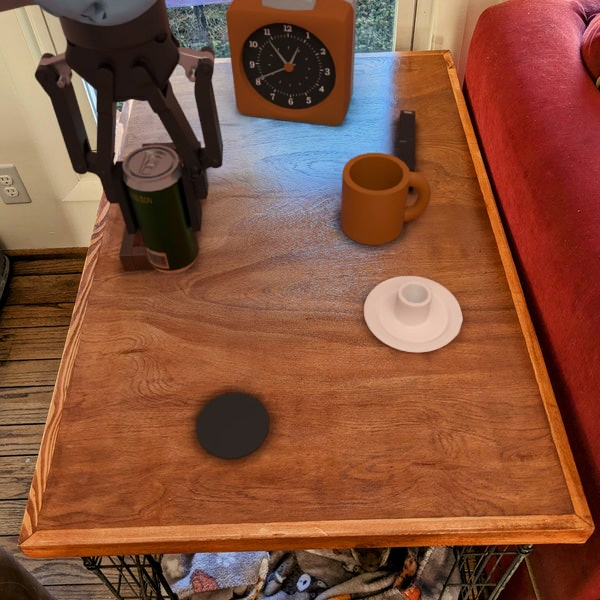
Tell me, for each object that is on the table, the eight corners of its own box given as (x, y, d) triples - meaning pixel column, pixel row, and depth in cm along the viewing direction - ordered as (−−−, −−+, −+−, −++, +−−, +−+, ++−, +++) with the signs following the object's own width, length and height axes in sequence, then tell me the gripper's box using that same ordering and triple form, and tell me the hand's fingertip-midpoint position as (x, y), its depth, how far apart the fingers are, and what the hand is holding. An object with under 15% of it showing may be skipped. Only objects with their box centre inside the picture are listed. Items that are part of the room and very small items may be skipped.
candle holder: (480, 330, 76) (488, 308, 73) (398, 371, 73) (402, 350, 70) (423, 267, 83) (428, 244, 80) (345, 301, 80) (346, 279, 76)
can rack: (124, 271, 84) (118, 255, 82) (146, 159, 99) (142, 143, 97) (191, 268, 84) (187, 253, 82) (203, 156, 99) (200, 141, 97)
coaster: (217, 473, 66) (217, 471, 65) (184, 416, 70) (183, 414, 70) (282, 435, 68) (282, 433, 68) (246, 382, 73) (246, 380, 72)
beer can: (190, 279, 62) (168, 186, 53) (139, 271, 63) (109, 177, 54) (207, 241, 65) (189, 147, 56) (159, 234, 66) (134, 140, 57)
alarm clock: (235, 116, 106) (221, -7, 90) (250, 87, 111) (238, -34, 95) (343, 129, 103) (348, 4, 87) (353, 98, 108) (358, -24, 92)
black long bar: (413, 195, 92) (415, 179, 90) (395, 194, 92) (397, 178, 90) (414, 123, 103) (416, 107, 101) (398, 122, 103) (400, 106, 101)
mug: (425, 250, 85) (435, 200, 78) (337, 243, 86) (339, 193, 79) (426, 205, 91) (435, 155, 84) (343, 199, 92) (345, 149, 85)
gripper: (239, -55, 45) (260, 193, 63) (-18, -45, 45) (77, 201, 63) (238, -7, 40) (261, 246, 58) (-50, 4, 40) (62, 255, 58)
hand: (165, 222), depth 60 cm, fingers closed on beer can, 5 cm apart
